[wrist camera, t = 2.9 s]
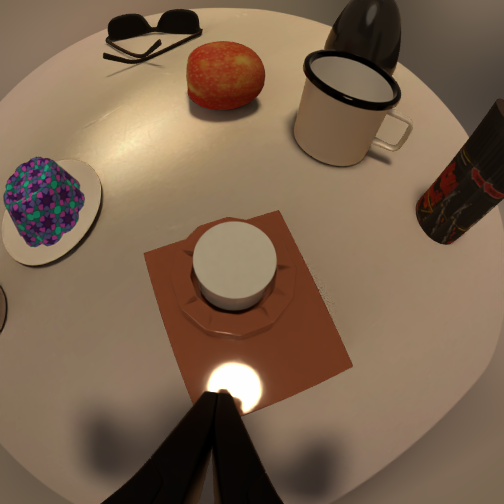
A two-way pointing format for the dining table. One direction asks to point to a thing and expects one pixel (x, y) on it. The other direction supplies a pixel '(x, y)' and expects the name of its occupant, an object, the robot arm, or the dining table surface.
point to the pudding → (48, 208)
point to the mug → (345, 107)
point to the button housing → (247, 325)
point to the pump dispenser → (369, 32)
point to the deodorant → (467, 183)
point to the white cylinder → (234, 265)
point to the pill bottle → (2, 308)
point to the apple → (224, 75)
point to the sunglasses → (137, 25)
